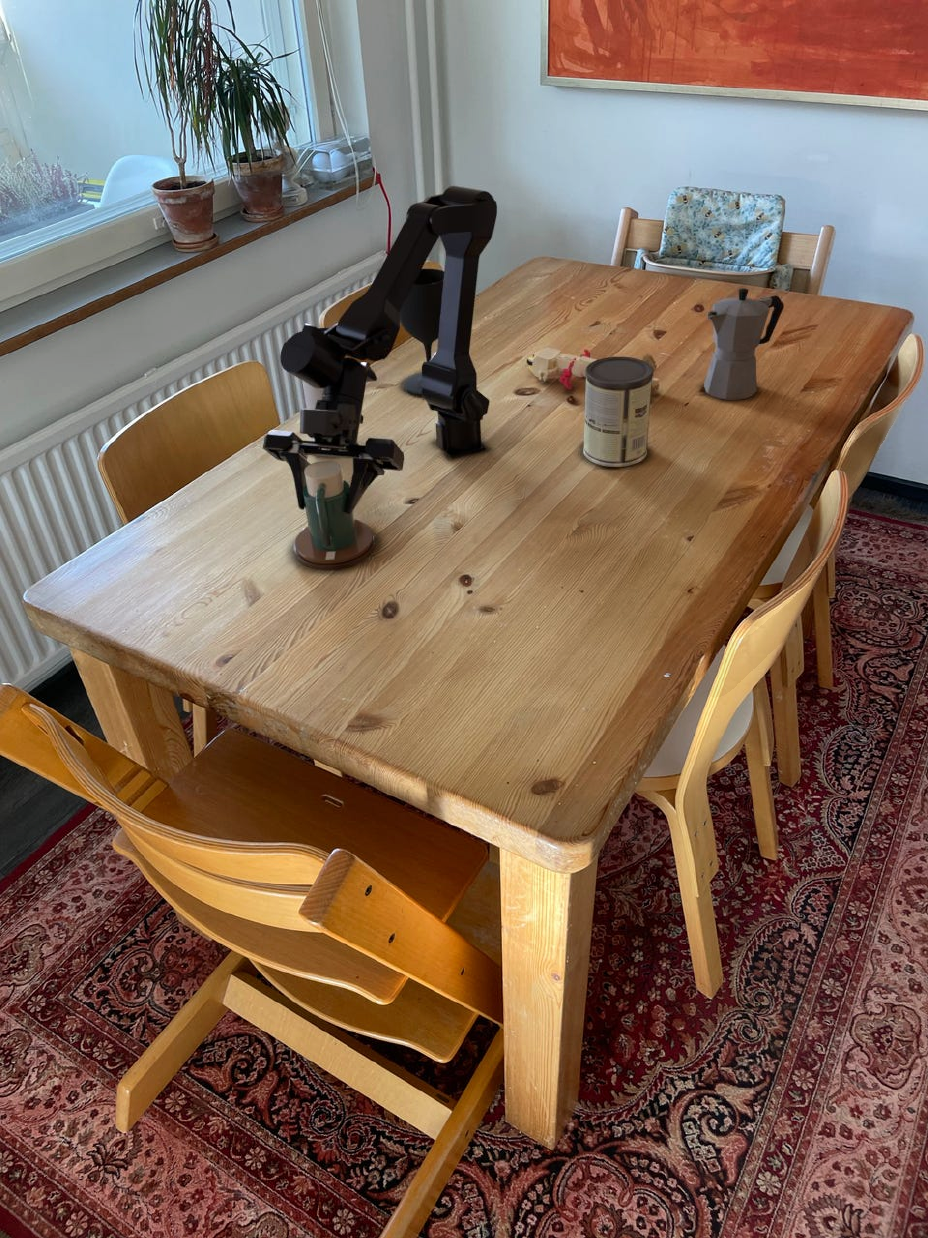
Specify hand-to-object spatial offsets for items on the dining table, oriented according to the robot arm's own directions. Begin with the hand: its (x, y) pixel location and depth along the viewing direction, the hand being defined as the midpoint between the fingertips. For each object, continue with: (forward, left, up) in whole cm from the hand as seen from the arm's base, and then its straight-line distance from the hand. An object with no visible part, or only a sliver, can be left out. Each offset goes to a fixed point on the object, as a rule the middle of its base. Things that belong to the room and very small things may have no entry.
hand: (324, 511), depth 128 cm
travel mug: (-10, -30, -7) cm, 33 cm away
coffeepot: (-81, -16, -7) cm, 83 cm away
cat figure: (-59, -30, -7) cm, 67 cm away
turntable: (-1, -1, -7) cm, 7 cm away
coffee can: (-50, -6, -7) cm, 51 cm away
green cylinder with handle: (-1, -1, -7) cm, 7 cm away
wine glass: (-34, -45, -7) cm, 57 cm away
